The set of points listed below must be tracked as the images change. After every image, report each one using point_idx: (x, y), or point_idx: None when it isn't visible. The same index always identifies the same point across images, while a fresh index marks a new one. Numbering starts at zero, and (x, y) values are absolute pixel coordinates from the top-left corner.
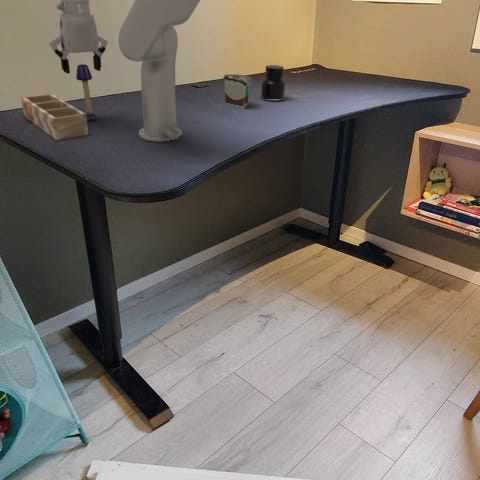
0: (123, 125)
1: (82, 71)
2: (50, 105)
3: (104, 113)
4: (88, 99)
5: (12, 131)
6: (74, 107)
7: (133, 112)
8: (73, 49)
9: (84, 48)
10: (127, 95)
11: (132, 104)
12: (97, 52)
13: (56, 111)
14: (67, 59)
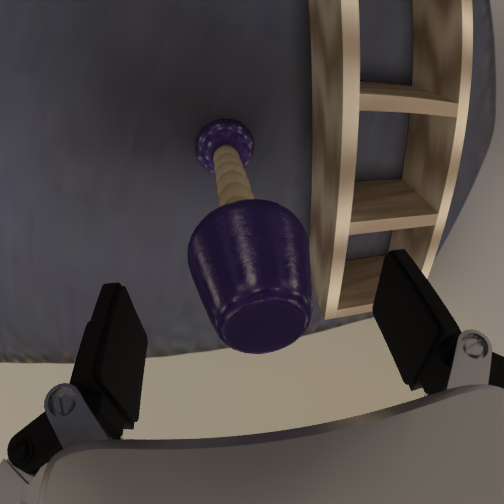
0: (122, 23)
1: (285, 254)
2: (383, 211)
3: (148, 208)
4: (232, 170)
5: (474, 149)
6: (344, 85)
7: (44, 187)
8: (467, 421)
9: (289, 481)
10: (60, 347)
11: (43, 274)
12: (81, 430)
13: (418, 96)
14: (447, 333)
